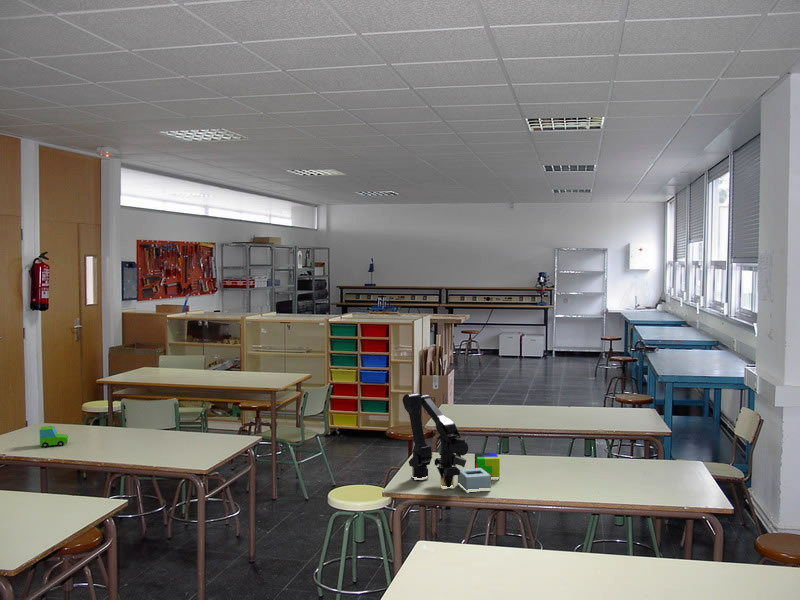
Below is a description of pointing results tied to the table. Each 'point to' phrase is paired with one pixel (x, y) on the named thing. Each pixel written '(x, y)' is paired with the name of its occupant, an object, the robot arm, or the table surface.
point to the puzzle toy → (488, 463)
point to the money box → (474, 478)
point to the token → (444, 481)
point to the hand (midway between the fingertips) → (446, 485)
